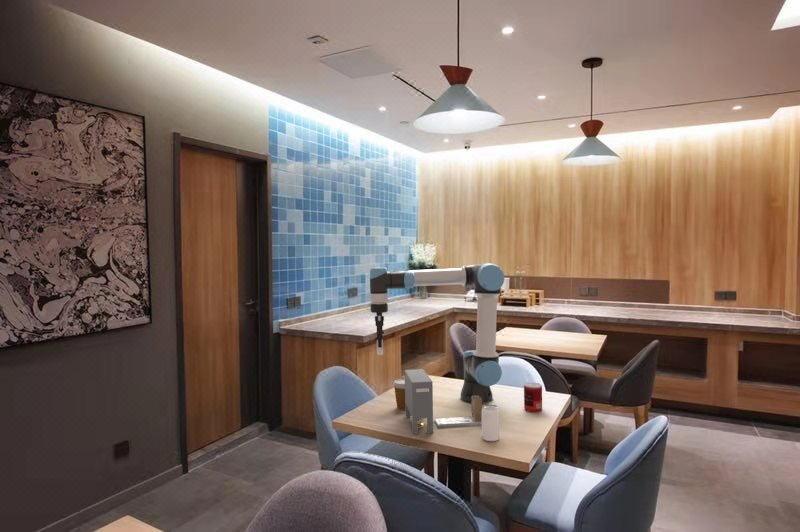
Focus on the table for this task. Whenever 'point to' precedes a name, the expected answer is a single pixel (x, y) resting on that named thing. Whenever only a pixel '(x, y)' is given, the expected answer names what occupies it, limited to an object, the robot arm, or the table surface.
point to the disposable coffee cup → (400, 393)
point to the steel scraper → (464, 421)
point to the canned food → (533, 397)
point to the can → (490, 422)
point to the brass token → (421, 424)
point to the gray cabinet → (419, 398)
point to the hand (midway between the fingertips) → (380, 351)
